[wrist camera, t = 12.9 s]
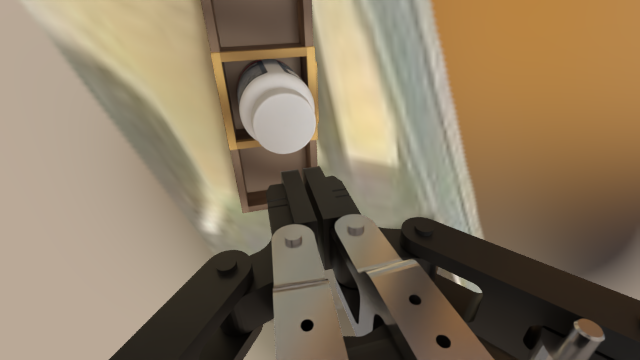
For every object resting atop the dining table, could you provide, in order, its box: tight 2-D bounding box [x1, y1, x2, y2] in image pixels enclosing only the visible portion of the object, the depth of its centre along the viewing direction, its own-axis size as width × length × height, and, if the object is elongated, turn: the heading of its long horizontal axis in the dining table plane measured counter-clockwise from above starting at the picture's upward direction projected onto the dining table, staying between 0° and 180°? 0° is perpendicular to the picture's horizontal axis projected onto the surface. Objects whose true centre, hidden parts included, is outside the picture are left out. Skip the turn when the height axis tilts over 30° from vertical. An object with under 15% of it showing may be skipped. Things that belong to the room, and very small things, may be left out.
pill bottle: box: [237, 59, 316, 154], centre depth 23 cm, size 5×5×9 cm
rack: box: [201, 0, 319, 213], centre depth 25 cm, size 21×8×4 cm, turn 3°
